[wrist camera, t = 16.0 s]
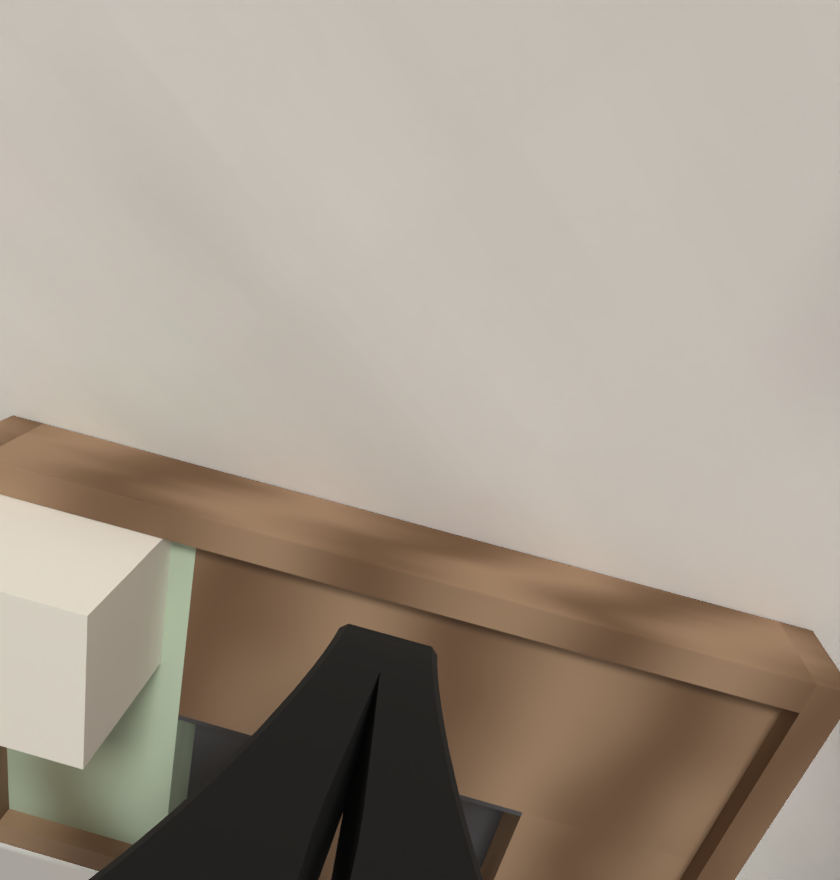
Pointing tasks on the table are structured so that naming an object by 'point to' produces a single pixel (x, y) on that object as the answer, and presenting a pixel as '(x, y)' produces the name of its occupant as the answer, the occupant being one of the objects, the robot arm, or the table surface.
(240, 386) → the table surface
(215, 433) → the table surface
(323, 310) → the table surface
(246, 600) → the tray
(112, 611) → the cream block
